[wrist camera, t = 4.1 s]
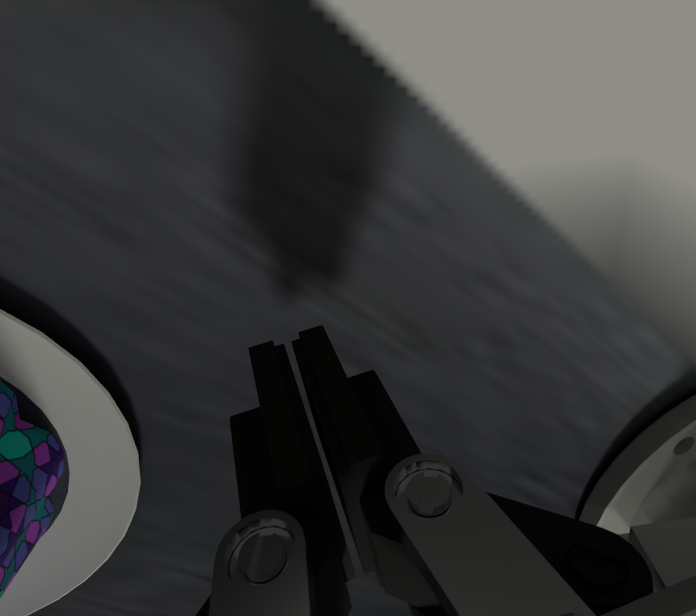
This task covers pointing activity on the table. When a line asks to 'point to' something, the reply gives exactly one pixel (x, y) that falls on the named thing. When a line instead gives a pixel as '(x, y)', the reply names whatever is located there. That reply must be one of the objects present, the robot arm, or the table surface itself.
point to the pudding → (58, 472)
